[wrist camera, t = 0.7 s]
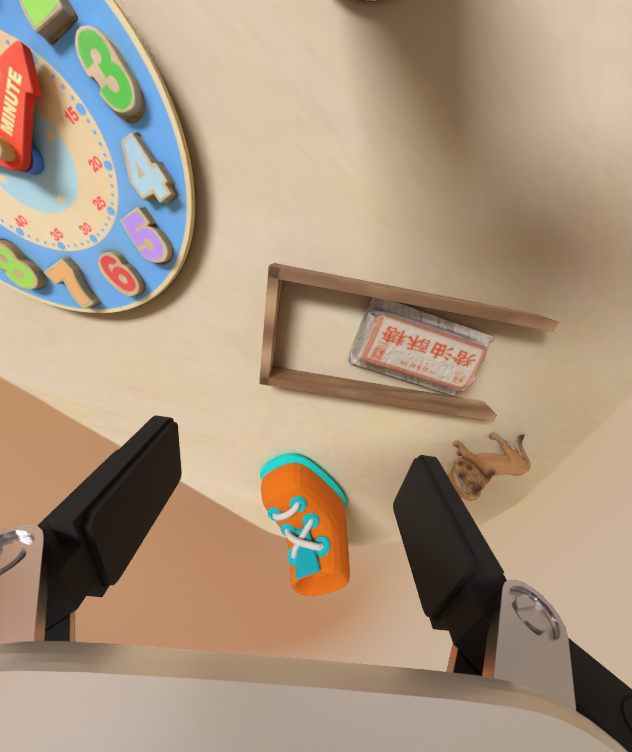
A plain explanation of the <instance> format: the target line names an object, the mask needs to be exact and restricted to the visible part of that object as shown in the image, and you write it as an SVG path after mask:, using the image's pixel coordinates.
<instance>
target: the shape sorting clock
mask: <svg viewBox="0 0 632 752" xmlns="http://www.w3.org/2000/svg"><path fill="white" fill-rule="evenodd" d="M194 221H195V189H194V179H193V172H192V166H191V161H190V156H189V152H188V148H187V144H186V140H185V137H184V133H183V130H182V127H181V124H180V121H179V118H178V115H177V113H176V110H175V107H174V105H173V102H172V100H171V97H170V95H169V93H168V90H167V88H166V86H165V84H164V82H163V79H162V77H161V75H160V73H159V71H158V69H157V67H156V65H155V63H154V61H153V60H152V58H151V56H150V54H149V52H148V51H147V49H146V47H145V45H144V44H143V42H142V40H141V39H140V37H139V35H138V34H137V32H136V31H135V29H134V27H133V26H132V24H131V23H130V22H129V20H128V19H127V17H126V16H125V14H124V13H123V11H122V10H121V8H120V7H119V6H118V4H117V3H116V2H115V0H0V283H1V284H3V285H5V286H7V287H9V288H11V289H13V290H15V291H17V292H19V293H21V294H23V295H25V296H28V297H30V298H32V299H35V300H38V301H40V302H43V303H46V304H49V305H52V306H55V307H59V308H63V309H67V310H72V311H78V312H88V313H114V312H120V311H124V310H128V309H132V308H134V307H137V306H139V305H142V304H144V303H146V302H148V301H150V300H151V299H153V298H155V297H156V296H158V295H159V294H160V293H161V292H163V291H164V290H165V289H166V288H167V287H168V286H169V285H170V284H171V283H172V281H173V280H174V279H175V277H176V276H177V274H178V273H179V271H180V270H181V268H182V266H183V264H184V262H185V259H186V257H187V254H188V252H189V248H190V245H191V241H192V236H193V230H194Z"/></svg>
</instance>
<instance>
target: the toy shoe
mask: <svg viewBox="0 0 632 752" xmlns="http://www.w3.org/2000/svg"><path fill="white" fill-rule="evenodd" d="M260 476H261V479H262V485H261V493H262V501H263V504H264V506H265V508H266V510H267V511H268V516H269V517H270V519H272V520H274V521H276V523H277V524H278V525H279V526H280V528H281V532H282V533H283V534H284V535H285V536H286V538H287V542H288V547H289V553H288V561H289V563H290V580H291V585H292V588H293V589H294V590H295V591H296V592H298V593H300V594H302V595H306V596H316V595H322V594H326V593H329V592H332V591H336V590H339V589H341V588H343V587H345V586H346V585H347V584H348V582H349V577H350V576H349V575H350V573H349V571H350V567H349V552H348V540H347V529H346V518H345V507H346V505H347V502H346V499H345V496H344V494H343V492H342V491H341V489H340V488H339V486H338V485H337V484H336V483H335V482H334V481H333V479H332V478H331V477H330V476H329V475H328V474H326V473H325V472H324V471H323V470H322V469H321V468H320V467H319V466H317V465H316V464H315V463H314V462H312V461H311V460H309V459H308V458H306V457H304V456H301V455H298V454H284V455H281V456H278V457H276V458H274V459H272V460H271V461H269V462H268V463H266V464H265V465H264V467H263V468H262V469H261V472H260Z"/></svg>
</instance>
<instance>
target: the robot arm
mask: <svg viewBox="0 0 632 752" xmlns="http://www.w3.org/2000/svg"><path fill="white" fill-rule="evenodd" d="M367 1H378V0H367ZM181 473H182V472H181V459H180V447H179V434H178V424H177V423H176V422H174V420H173V418H170V417H163V416H153V417H152V418H151V419H150V420H149V421H148V422H147V423H146V424H145V425H144V426H143V427H142V428H141V429H140V430H139V431H138V432H137V433H136V434H135V435H134V436H132V437H131V438H130V439H129V440H128V441H127V442H126V443H125V444H124V445H123V446H122V447H121V448H120V449H118V450H117V451H115V452H114V453H113V454H112V455H111V456H109V458H107V459H106V460H105V461H104V462H103V463H102V464H101V465H100V466H99V467H98V468H97V469H96V470H95V471H94V472H93V473H92V474H91V475H90V476H89V477H88V478H86V479H85V480H84V482H83V483H81V484H80V485H79V486H78V487H77V488H76V489H75V490H74V491H73V492H72V493H71V494H70V495H69V496H68V497H67V498H66V499H65V500H64V501H63V502H61V503H60V504H59V506H57V507H56V508H55V509H54V510H53V511H52V512H51V513H50V514H49V515H48V516H47V517H46V518H45V519H44V520H43V521H42V522H41V523H40V524H38V526H35V525H30V524H23V525H15V526H12V527H8V528H5V529H2V530H0V752H632V689H631V688H629V687H628V686H627V685H626V684H625V683H623V682H622V681H621V680H620V679H618V678H617V677H616V676H615V675H613V674H612V673H611V672H610V671H609V670H607V669H606V668H605V667H604V666H602V665H601V664H600V663H599V662H597V661H596V660H595V659H594V658H592V657H591V656H590V655H589V654H588V653H586V652H585V651H584V650H583V649H582V648H580V647H579V646H578V645H576V644H575V643H574V642H573V641H572V640H570V639H569V638H568V635H567V631H566V628H565V626H564V624H563V622H562V620H561V618H560V616H559V615H558V613H557V612H556V611H555V609H554V608H553V606H552V605H551V604H550V603H549V602H548V601H547V600H546V599H545V598H544V597H543V596H542V595H541V594H540V593H539V592H537V591H536V590H535V589H534V588H532V587H531V586H529V585H527V584H526V583H524V582H521V581H518V580H508V581H507V580H506V578H505V576H504V575H503V573H504V571H503V569H502V568H501V566H500V564H499V563H498V561H497V559H496V558H495V556H494V554H493V552H492V551H491V549H490V547H489V546H488V544H487V542H486V540H485V539H484V537H483V535H482V534H481V532H480V530H479V529H478V527H477V525H476V523H475V522H474V520H473V518H472V517H471V515H470V513H469V512H468V510H467V508H466V506H465V505H464V503H463V501H462V500H461V498H460V496H459V495H458V493H457V491H456V489H455V488H454V486H453V484H452V483H451V481H450V479H449V478H448V476H447V474H446V472H445V471H444V469H443V467H442V466H441V464H440V462H439V461H438V459H437V458H436V457H432V456H425V455H420V456H419V457H418V458H415V459H414V460H413V463H412V465H411V467H410V469H409V471H408V473H407V475H406V477H405V479H404V481H403V484H402V486H401V488H400V490H399V492H398V494H397V496H396V498H395V500H394V504H393V509H394V514H395V517H396V520H397V524H398V527H399V530H400V534H401V537H402V541H403V544H404V547H405V551H406V554H407V557H408V561H409V564H410V567H411V571H412V574H413V578H414V581H415V584H416V588H417V591H418V594H419V598H420V601H421V605H422V608H423V611H424V613H425V615H426V616H427V617H429V618H430V621H431V624H432V628H433V629H437V630H447V631H449V632H450V636H451V638H452V641H453V646H452V649H451V654H450V658H449V662H448V667H447V671H446V672H441V671H432V670H422V669H412V668H400V667H389V666H378V665H367V664H355V663H344V662H333V661H321V660H310V659H298V658H286V657H273V656H262V655H249V654H238V653H226V652H213V651H200V650H188V649H175V648H161V647H149V646H137V645H136V646H135V645H121V644H103V643H85V642H75V610H77V609H78V607H79V606H80V604H81V603H82V601H83V600H84V598H85V597H86V596H94V597H103V595H104V594H105V592H106V591H107V589H108V587H109V586H110V585H114V584H115V583H116V582H117V581H118V580H119V579H120V577H121V576H122V574H123V572H124V571H125V569H126V568H127V566H128V564H129V563H130V561H131V559H132V558H133V556H134V555H135V553H136V551H137V550H138V548H139V546H140V545H141V543H142V542H143V540H144V538H145V537H146V535H147V533H148V532H149V530H150V529H151V527H152V525H153V524H154V522H155V520H156V519H157V517H158V516H159V514H160V512H161V511H162V509H163V507H164V506H165V504H166V503H167V501H168V499H169V497H170V496H171V494H172V493H173V491H174V490H175V488H176V486H177V485H178V483H179V481H180V479H181Z"/></svg>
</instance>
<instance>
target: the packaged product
mask: <svg viewBox="0 0 632 752" xmlns="http://www.w3.org/2000/svg"><path fill="white" fill-rule="evenodd" d="M493 338H494V337H492V336H490V335H487V334H484V333H482V332H479V331H477V330H474V329H472V328H470V327H467V326H463V325H460V324H457V323H454V322H451V321H448V320H445V319H442V318H439V317H437V316H435V315H432V314H430V313H427V312H424V311H421V310H418V309H414V308H412V307H410V306H407V305H404V304H402V303H399V302H395V301H390V300H385V299H380V298H375V297H372V299H371V301H370V303H369V306H368V308H367V310H366V312H365V314H364V316H363V319H362V321H361V324H360V327H359V329H358V332H357V334H356V336H355V339H354V341H353V343H352V345H351V348H350V350H349V352H348V355H347V359H348V361H349V363H350V364H355V365H357V366H361V367H364V368H367V369H370V370H374V371H377V372H380V373H383V374H386V375H390V376H393V377H395V378H399V379H403V380H405V381H409V382H412V383H415V384H418V385H422V386H425V387H428V388H431V389H434V390H437V391H441V392H444V393H447V394H451V395H453V396H455V394H456V393H457V392H458V390H459V391H465V390H466V389H467V388H468V387H469V386H470V385H471V384H472V383H473V382H474V380H475V378H476V374H477V372H478V370H479V368H480V365H481V364H482V361H484V358H485V354H486V351H487V349H486V348H487V347H488V346H489V342H490V341H491V340H492V339H493Z"/></svg>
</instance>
